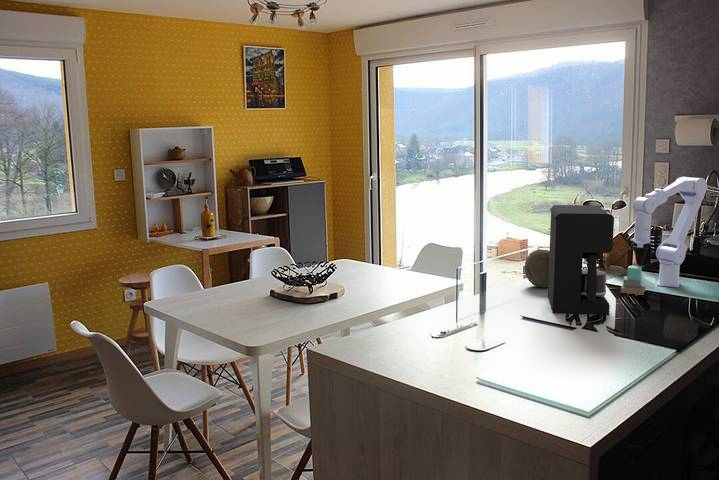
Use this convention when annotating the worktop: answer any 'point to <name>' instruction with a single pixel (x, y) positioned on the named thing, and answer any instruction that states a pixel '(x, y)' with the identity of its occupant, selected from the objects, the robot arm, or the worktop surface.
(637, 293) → the walnut slab
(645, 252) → the robot arm
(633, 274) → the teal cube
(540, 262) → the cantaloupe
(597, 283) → the coffee maker
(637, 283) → the grey square block
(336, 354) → the worktop surface
